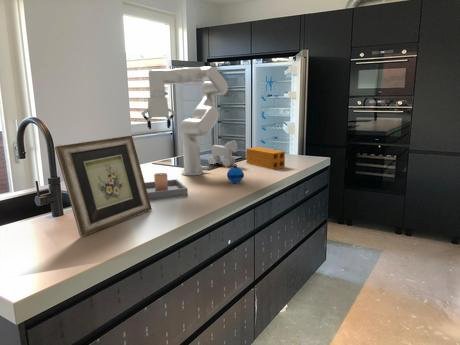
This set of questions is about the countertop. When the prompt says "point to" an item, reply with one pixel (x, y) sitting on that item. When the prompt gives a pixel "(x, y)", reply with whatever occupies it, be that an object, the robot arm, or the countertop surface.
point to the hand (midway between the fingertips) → (159, 128)
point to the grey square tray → (173, 190)
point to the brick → (265, 157)
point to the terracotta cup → (161, 181)
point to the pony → (223, 154)
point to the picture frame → (103, 182)
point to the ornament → (235, 174)
